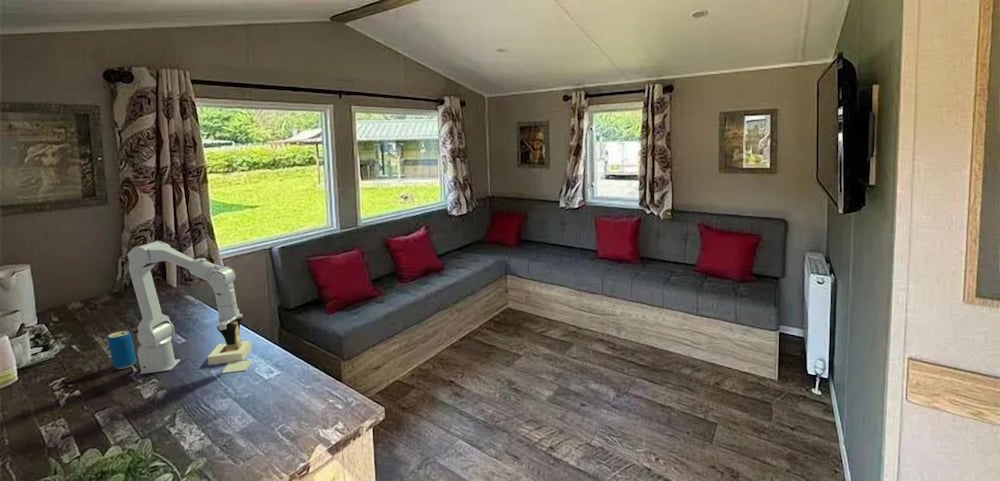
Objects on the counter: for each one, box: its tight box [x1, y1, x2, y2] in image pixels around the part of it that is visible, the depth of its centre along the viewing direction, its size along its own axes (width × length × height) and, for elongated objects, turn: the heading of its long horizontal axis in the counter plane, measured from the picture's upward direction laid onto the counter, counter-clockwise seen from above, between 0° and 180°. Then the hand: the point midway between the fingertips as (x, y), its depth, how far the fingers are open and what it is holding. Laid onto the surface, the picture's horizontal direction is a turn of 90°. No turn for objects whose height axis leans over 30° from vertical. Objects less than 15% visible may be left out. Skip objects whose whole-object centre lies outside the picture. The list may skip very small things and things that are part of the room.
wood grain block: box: [225, 321, 242, 351], centre depth 163 cm, size 4×4×9 cm
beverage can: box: [107, 330, 138, 370], centre depth 169 cm, size 6×6×12 cm
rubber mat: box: [221, 359, 253, 375], centre depth 166 cm, size 8×8×1 cm
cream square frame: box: [207, 340, 253, 366], centre depth 174 cm, size 11×11×3 cm
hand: (233, 341), depth 164 cm, fingers closed on wood grain block, 3 cm apart
